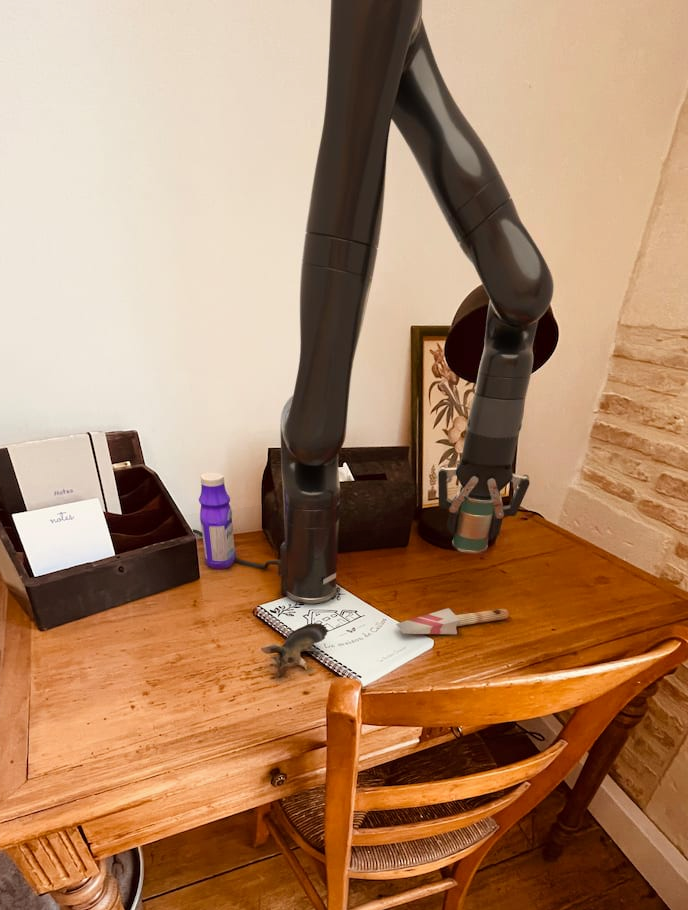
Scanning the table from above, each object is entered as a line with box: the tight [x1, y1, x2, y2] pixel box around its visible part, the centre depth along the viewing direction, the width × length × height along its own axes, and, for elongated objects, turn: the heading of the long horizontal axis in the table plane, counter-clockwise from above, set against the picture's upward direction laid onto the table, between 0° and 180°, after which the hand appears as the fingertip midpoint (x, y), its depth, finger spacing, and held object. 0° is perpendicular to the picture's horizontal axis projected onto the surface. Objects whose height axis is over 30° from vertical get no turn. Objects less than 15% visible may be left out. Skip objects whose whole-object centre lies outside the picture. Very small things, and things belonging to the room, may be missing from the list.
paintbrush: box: [395, 607, 509, 635], centre depth 86 cm, size 4×3×20 cm
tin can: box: [451, 495, 496, 555], centre depth 85 cm, size 6×6×9 cm
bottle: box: [198, 471, 236, 570], centre depth 98 cm, size 7×6×17 cm
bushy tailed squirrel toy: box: [260, 622, 329, 678], centre depth 77 cm, size 8×7×9 cm
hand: (471, 534), depth 86 cm, fingers closed on tin can, 5 cm apart
